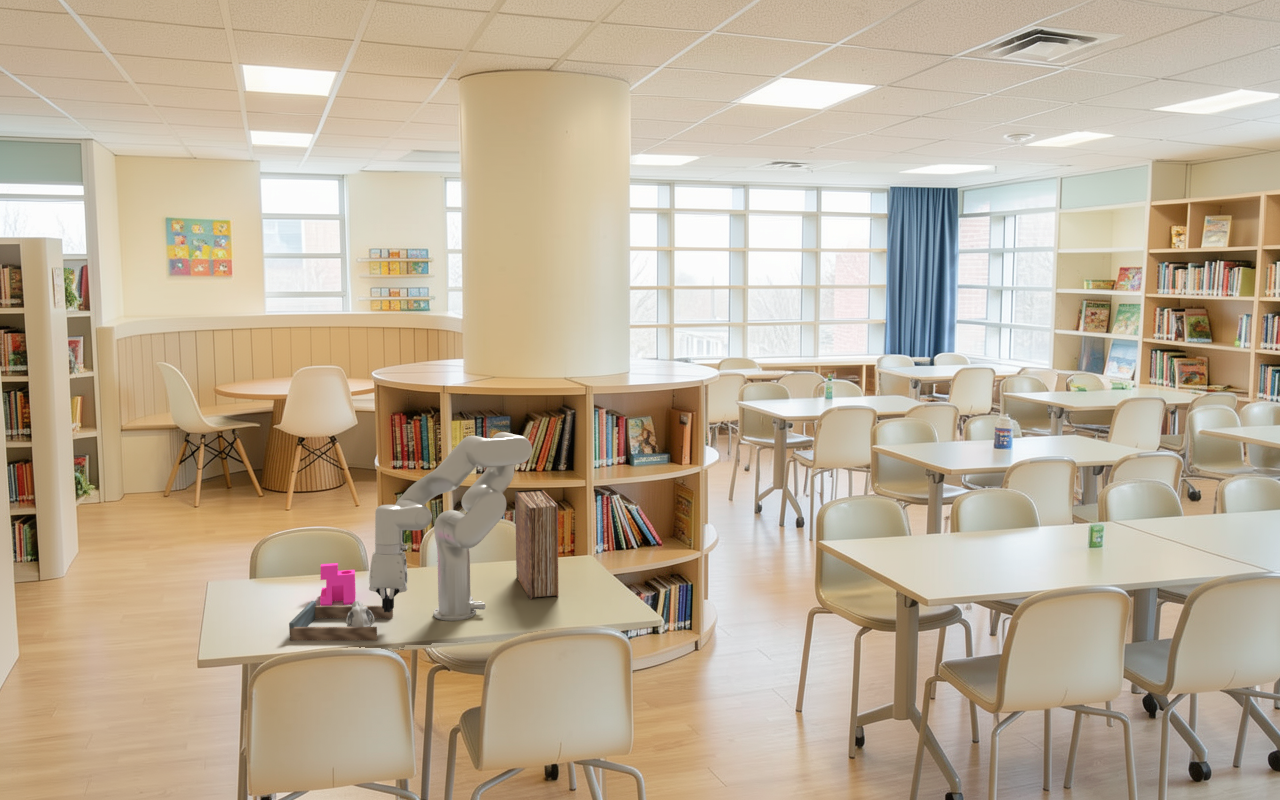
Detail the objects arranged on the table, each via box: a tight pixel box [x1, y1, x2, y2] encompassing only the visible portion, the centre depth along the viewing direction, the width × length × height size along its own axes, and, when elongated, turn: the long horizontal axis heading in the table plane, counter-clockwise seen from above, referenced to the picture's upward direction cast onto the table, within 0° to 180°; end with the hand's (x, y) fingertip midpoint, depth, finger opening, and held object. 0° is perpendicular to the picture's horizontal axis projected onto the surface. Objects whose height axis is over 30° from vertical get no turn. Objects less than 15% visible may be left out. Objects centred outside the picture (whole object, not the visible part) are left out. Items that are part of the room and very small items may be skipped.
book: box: [514, 489, 559, 601], centre depth 317 cm, size 25×9×30 cm, turn 17°
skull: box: [345, 600, 375, 627], centre depth 280 cm, size 8×9×12 cm
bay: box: [288, 600, 394, 641], centre depth 280 cm, size 24×19×5 cm
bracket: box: [319, 562, 357, 606], centre depth 305 cm, size 12×10×10 cm
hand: (387, 610), depth 279 cm, fingers closed
